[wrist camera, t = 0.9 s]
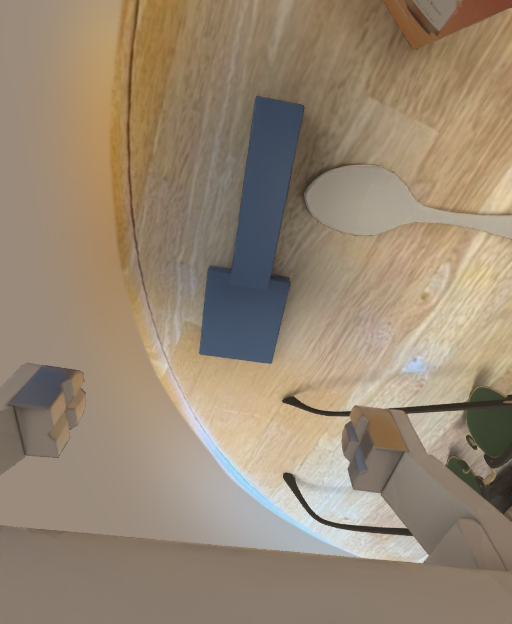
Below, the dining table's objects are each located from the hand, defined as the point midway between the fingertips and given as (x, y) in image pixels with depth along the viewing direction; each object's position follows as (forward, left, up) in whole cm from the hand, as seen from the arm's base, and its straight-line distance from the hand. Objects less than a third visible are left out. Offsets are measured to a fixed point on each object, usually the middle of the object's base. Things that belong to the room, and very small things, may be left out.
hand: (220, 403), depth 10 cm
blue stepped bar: (0, +1, -14) cm, 14 cm away
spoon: (+5, +13, -14) cm, 20 cm away
